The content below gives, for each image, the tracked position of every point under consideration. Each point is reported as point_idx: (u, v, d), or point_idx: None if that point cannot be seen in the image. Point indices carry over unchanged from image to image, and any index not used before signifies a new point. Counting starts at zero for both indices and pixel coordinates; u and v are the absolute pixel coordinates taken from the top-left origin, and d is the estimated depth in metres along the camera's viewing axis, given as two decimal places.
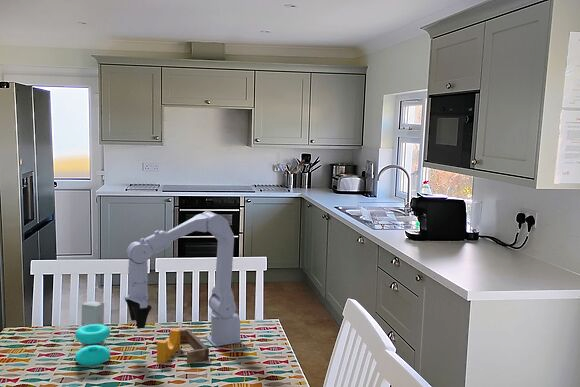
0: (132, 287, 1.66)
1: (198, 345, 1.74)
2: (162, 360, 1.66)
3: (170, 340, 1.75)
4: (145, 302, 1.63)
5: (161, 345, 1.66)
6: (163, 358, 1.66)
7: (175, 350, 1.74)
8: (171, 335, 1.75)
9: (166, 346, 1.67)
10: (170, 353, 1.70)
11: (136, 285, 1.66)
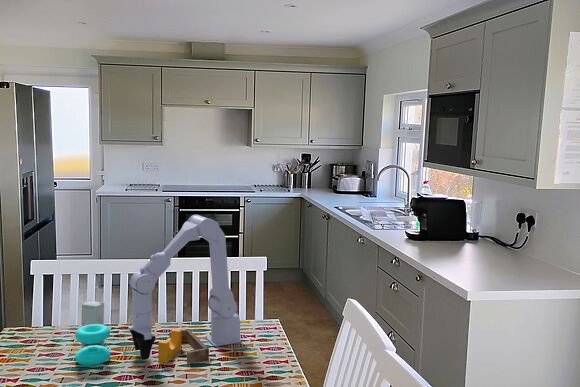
0: (136, 318, 1.64)
1: (198, 345, 1.74)
2: (164, 360, 1.66)
3: (171, 340, 1.75)
4: (149, 333, 1.62)
5: (162, 345, 1.66)
6: (165, 358, 1.66)
7: (176, 350, 1.74)
8: (172, 335, 1.75)
9: (168, 346, 1.67)
10: (171, 353, 1.70)
11: (140, 316, 1.64)
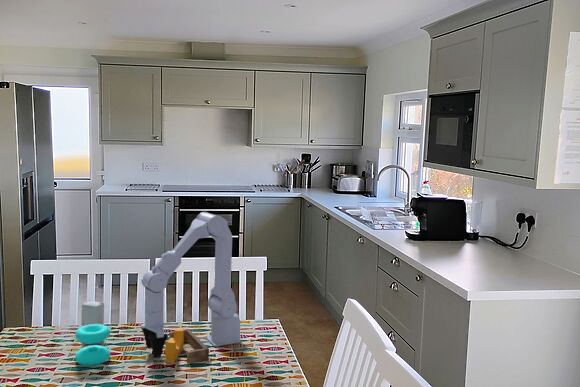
0: (148, 316, 1.66)
1: (198, 345, 1.74)
2: (171, 360, 1.66)
3: (175, 340, 1.75)
4: (162, 332, 1.63)
5: (170, 345, 1.66)
6: (172, 358, 1.66)
7: (180, 350, 1.74)
8: (175, 335, 1.75)
9: (175, 346, 1.67)
10: (177, 353, 1.70)
11: (152, 314, 1.66)
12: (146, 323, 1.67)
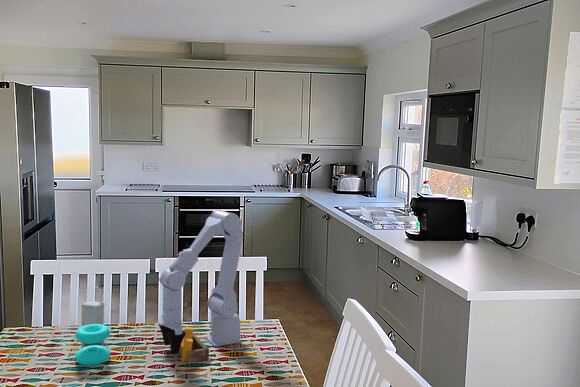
0: (167, 314, 1.69)
1: (198, 345, 1.74)
2: None
3: (185, 338, 1.76)
4: (180, 329, 1.66)
5: (188, 343, 1.67)
6: None
7: None
8: (186, 333, 1.77)
9: None
10: None
11: (171, 312, 1.69)
12: (164, 320, 1.70)
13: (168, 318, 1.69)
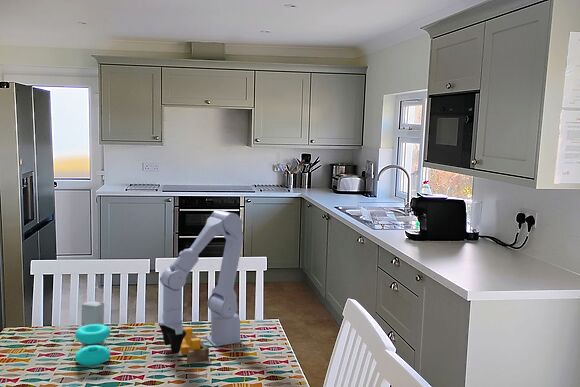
0: (167, 313, 1.69)
1: None
2: None
3: (186, 339, 1.76)
4: (180, 328, 1.66)
5: (196, 342, 1.68)
6: None
7: None
8: (186, 334, 1.77)
9: None
10: None
11: (171, 311, 1.69)
12: (165, 320, 1.70)
13: (168, 318, 1.69)
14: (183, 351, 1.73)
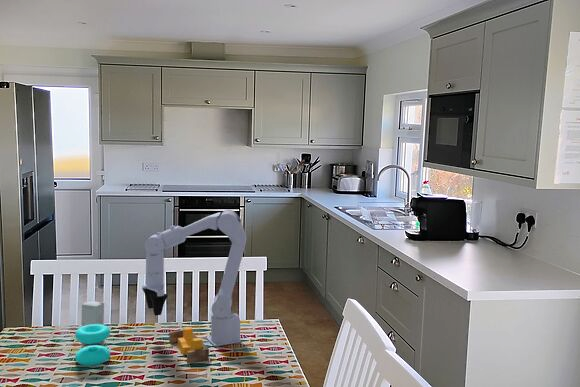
0: (150, 277, 1.78)
1: None
2: None
3: (187, 339, 1.76)
4: (162, 291, 1.75)
5: (198, 342, 1.68)
6: None
7: None
8: (186, 334, 1.77)
9: None
10: None
11: (153, 275, 1.78)
12: (147, 284, 1.79)
13: (151, 281, 1.78)
14: (184, 351, 1.73)
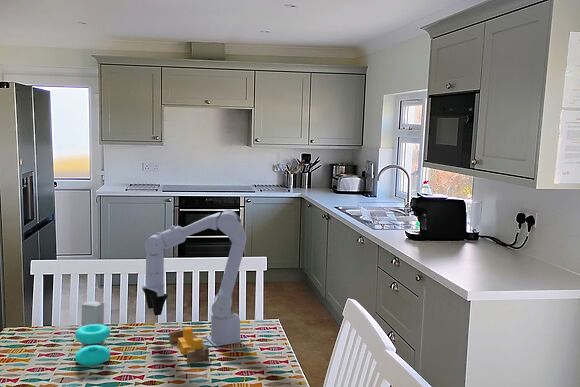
0: (150, 277, 1.78)
1: None
2: None
3: (187, 339, 1.76)
4: (162, 291, 1.75)
5: (198, 342, 1.68)
6: None
7: None
8: (186, 334, 1.77)
9: None
10: None
11: (153, 275, 1.78)
12: (147, 284, 1.79)
13: (151, 281, 1.78)
14: (184, 351, 1.73)
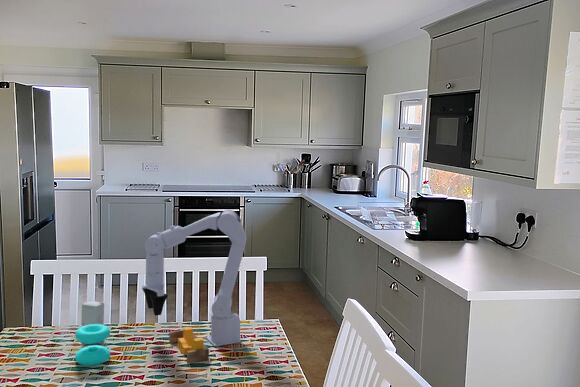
0: (150, 277, 1.78)
1: None
2: None
3: (187, 339, 1.76)
4: (162, 291, 1.75)
5: (199, 342, 1.69)
6: None
7: None
8: (186, 334, 1.77)
9: None
10: None
11: (153, 275, 1.78)
12: (147, 284, 1.79)
13: (151, 281, 1.78)
14: (185, 351, 1.73)
